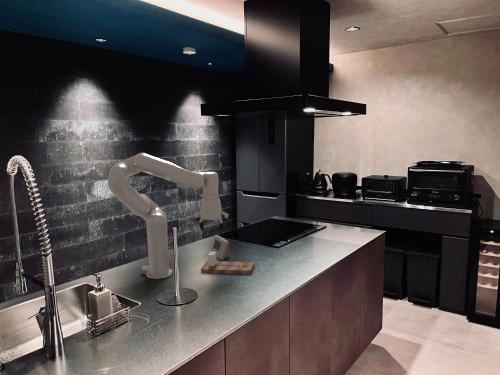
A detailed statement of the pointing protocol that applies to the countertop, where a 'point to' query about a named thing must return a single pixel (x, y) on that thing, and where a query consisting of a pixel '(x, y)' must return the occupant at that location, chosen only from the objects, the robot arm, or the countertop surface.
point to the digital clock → (220, 247)
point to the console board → (228, 267)
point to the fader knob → (212, 259)
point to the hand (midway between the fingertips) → (211, 230)
